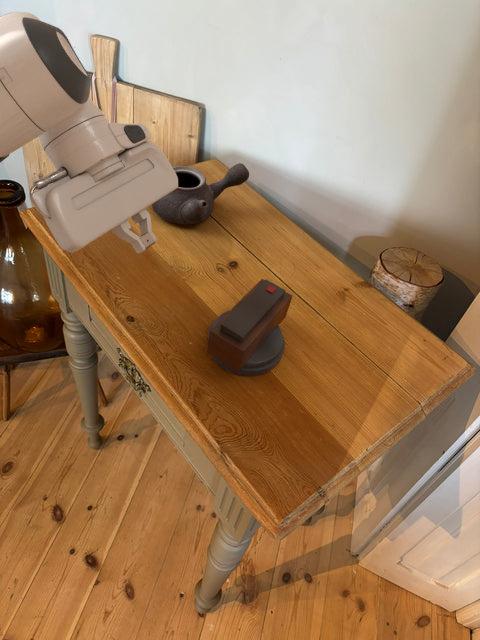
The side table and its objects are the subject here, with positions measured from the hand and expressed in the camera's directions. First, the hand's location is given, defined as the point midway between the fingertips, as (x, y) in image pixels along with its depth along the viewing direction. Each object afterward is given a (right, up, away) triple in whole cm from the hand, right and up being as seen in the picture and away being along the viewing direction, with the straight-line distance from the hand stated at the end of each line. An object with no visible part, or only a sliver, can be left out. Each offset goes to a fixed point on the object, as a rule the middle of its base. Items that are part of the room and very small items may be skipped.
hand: (147, 247), depth 64 cm
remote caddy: (+14, -13, +7) cm, 20 cm away
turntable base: (+14, -14, +9) cm, 21 cm away
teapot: (+5, +12, +30) cm, 33 cm away
